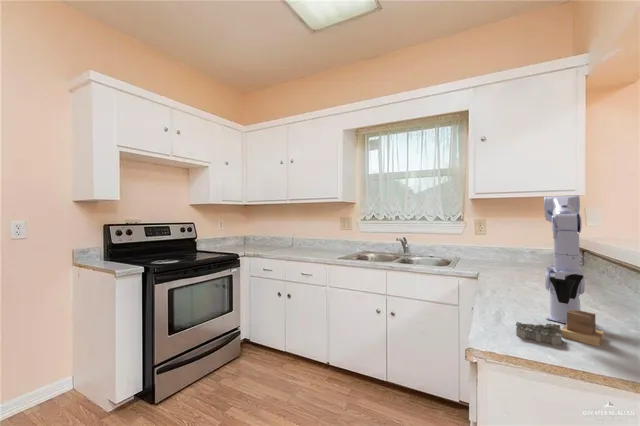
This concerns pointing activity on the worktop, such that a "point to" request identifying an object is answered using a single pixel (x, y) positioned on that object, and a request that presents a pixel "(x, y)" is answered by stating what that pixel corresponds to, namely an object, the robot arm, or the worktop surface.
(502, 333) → the worktop surface
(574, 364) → the worktop surface
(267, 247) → the worktop surface
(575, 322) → the walnut cube
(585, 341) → the board
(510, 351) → the worktop surface
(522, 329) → the egg carton
